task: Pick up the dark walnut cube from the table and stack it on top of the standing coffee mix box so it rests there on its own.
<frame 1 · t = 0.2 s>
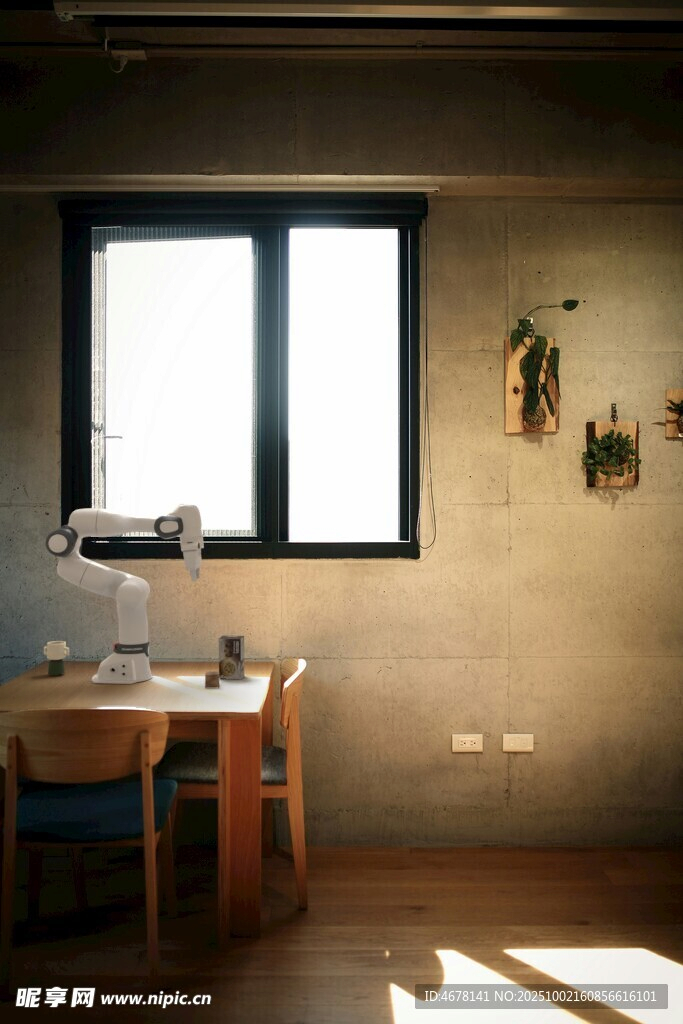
hand: (195, 579, 298), 39 cm above the table, tool pointing down, fingers open, 8 cm apart
trophy cup: (56, 675, 301), on the table
coffee box: (231, 678, 298), on the table
walnut cube: (212, 686, 285), on the table
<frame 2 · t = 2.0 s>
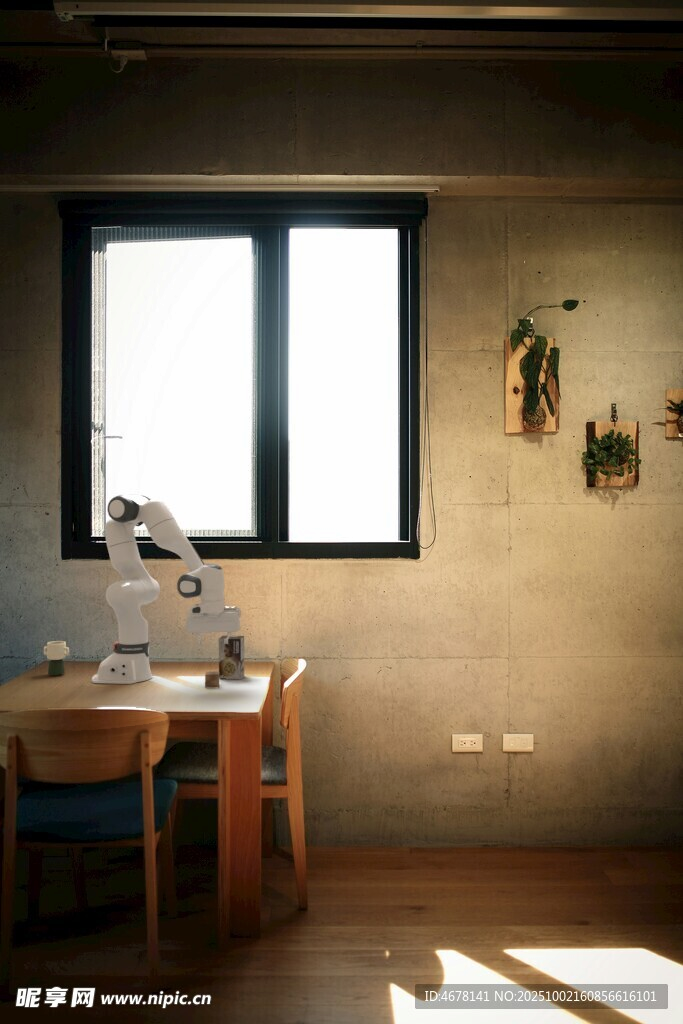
hand: (213, 644, 284), 16 cm above the table, tool pointing down, fingers open, 8 cm apart
nothing on the table moved.
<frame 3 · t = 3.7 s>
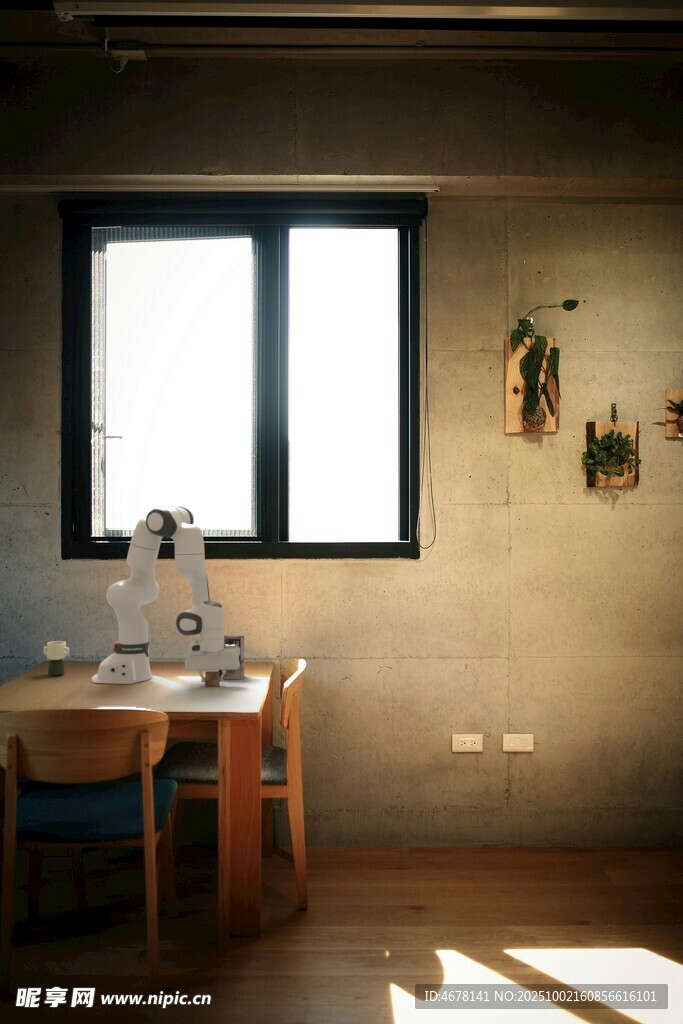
hand: (212, 681, 285), 2 cm above the table, tool pointing down, fingers closed on walnut cube, 5 cm apart
walnut cube: (212, 685, 285), on the table, touching gripper
everything else where it was.
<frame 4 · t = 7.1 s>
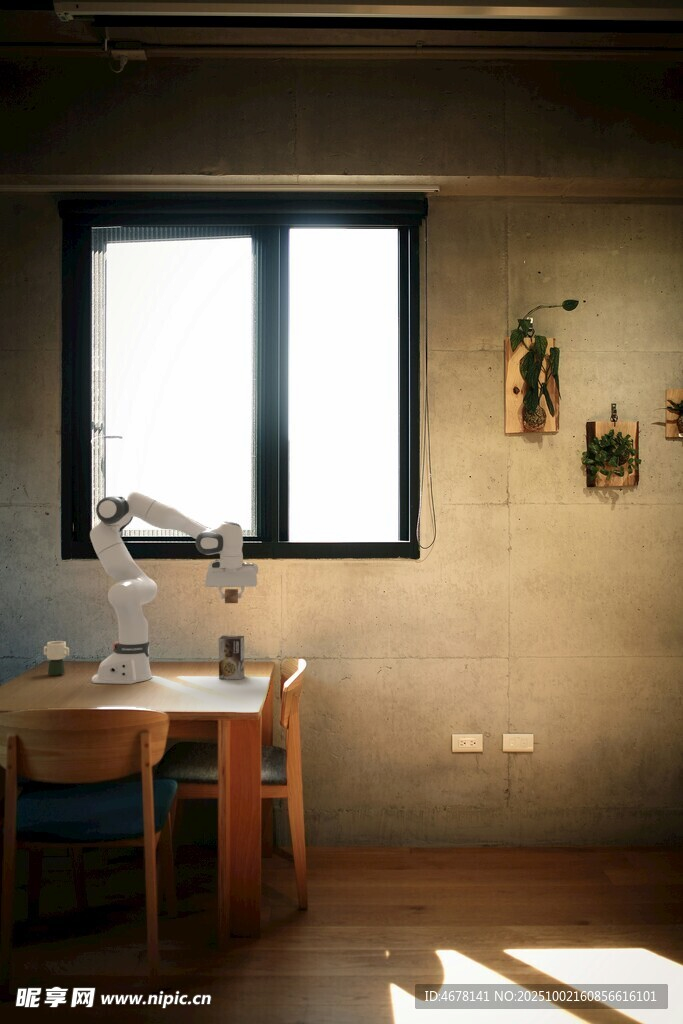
hand: (231, 598, 297), 31 cm above the table, tool pointing down, fingers closed on walnut cube, 5 cm apart
walnut cube: (231, 602, 297), point 30 cm above the table, touching gripper
everything else where it was.
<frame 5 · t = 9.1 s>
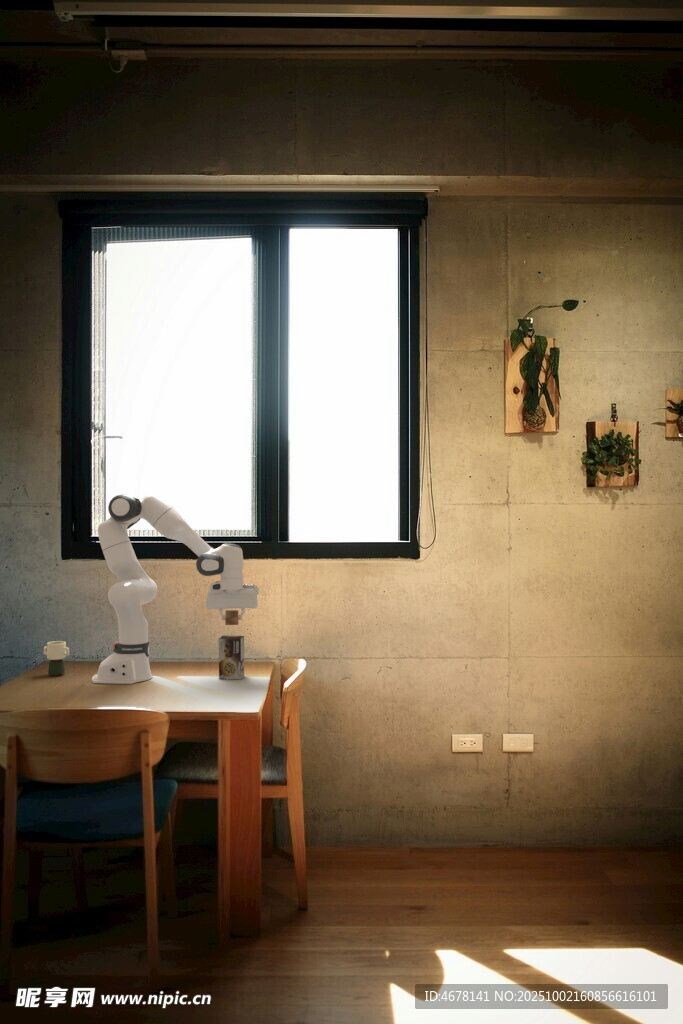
hand: (231, 619, 298), 23 cm above the table, tool pointing down, fingers closed on walnut cube, 5 cm apart
walnut cube: (232, 623, 298), point 21 cm above the table, touching gripper
everything else where it was.
when the fingers open (19 cm above the table, at t = 10.5 s): walnut cube drops 1 cm, resting on coffee box.
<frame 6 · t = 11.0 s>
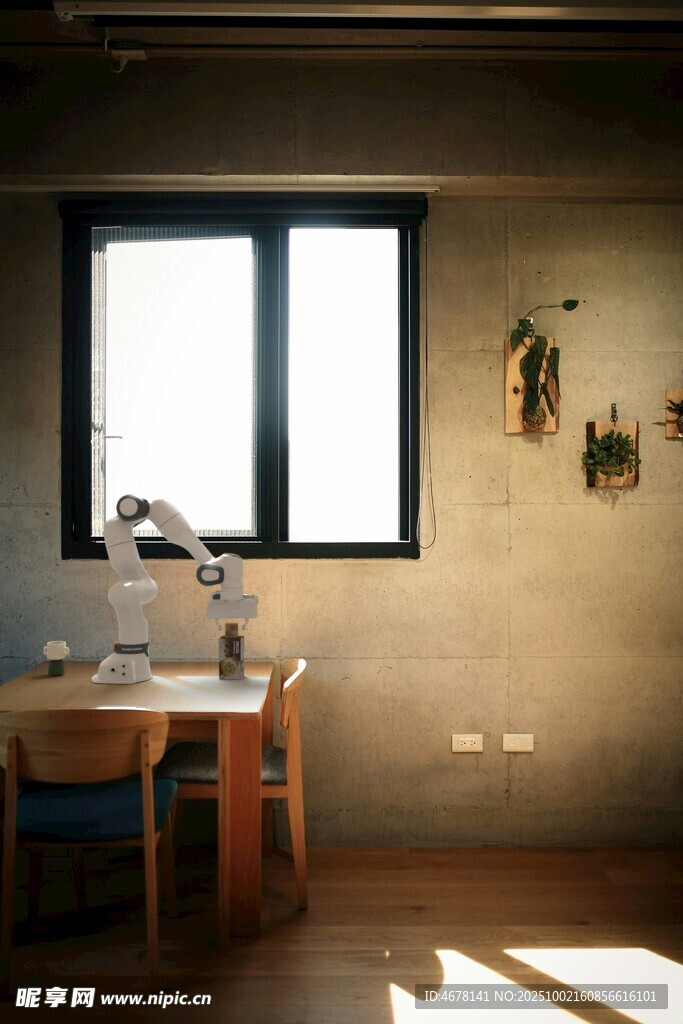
hand: (231, 629, 298), 19 cm above the table, tool pointing down, fingers open, 8 cm apart
coffee box: (231, 678, 298), on the table, touching walnut cube
walnut cube: (231, 636, 298), point 16 cm above the table, touching coffee box
everything else where it was.
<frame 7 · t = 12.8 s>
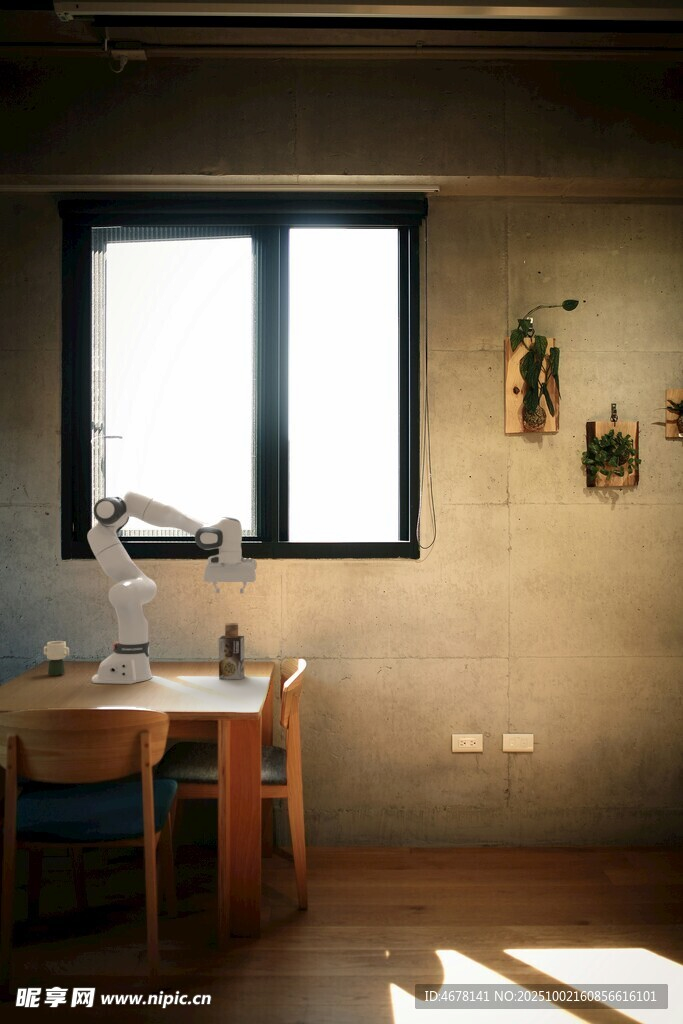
hand: (229, 593, 300), 33 cm above the table, tool pointing down, fingers open, 8 cm apart
nothing on the table moved.
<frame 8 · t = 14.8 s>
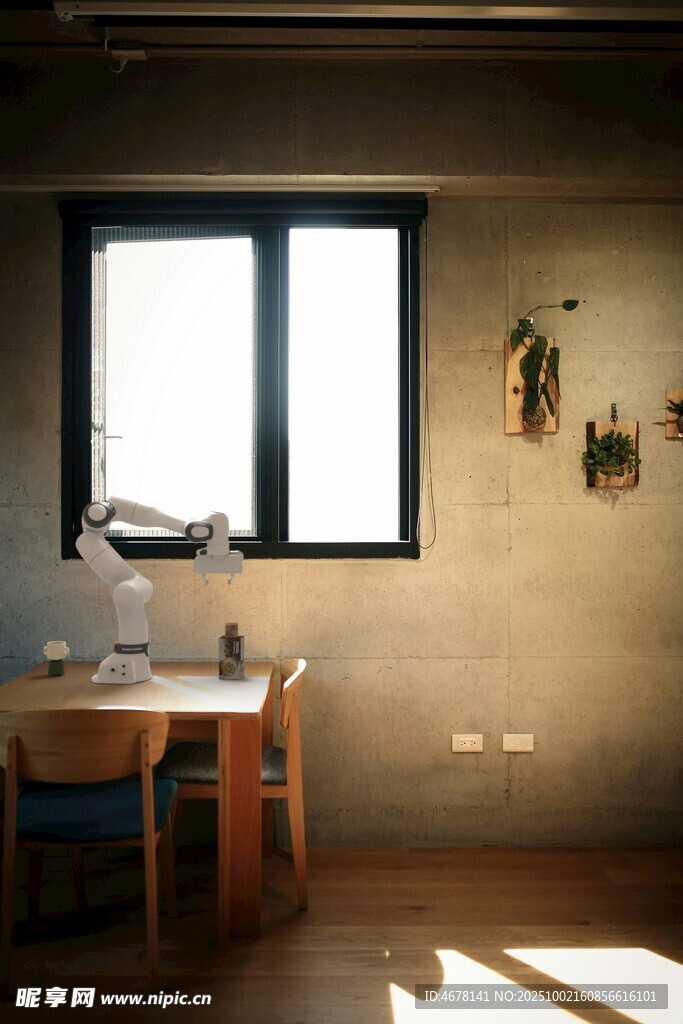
hand: (218, 584, 313), 35 cm above the table, tool pointing down, fingers open, 8 cm apart
nothing on the table moved.
at the end: walnut cube point 16.1 cm above the table; walnut cube 0.1 cm from the coffee box (horizontally); coffee box tilted 0° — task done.
